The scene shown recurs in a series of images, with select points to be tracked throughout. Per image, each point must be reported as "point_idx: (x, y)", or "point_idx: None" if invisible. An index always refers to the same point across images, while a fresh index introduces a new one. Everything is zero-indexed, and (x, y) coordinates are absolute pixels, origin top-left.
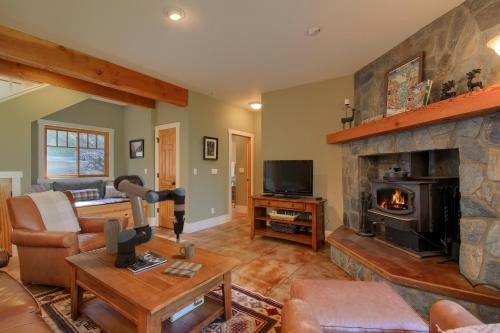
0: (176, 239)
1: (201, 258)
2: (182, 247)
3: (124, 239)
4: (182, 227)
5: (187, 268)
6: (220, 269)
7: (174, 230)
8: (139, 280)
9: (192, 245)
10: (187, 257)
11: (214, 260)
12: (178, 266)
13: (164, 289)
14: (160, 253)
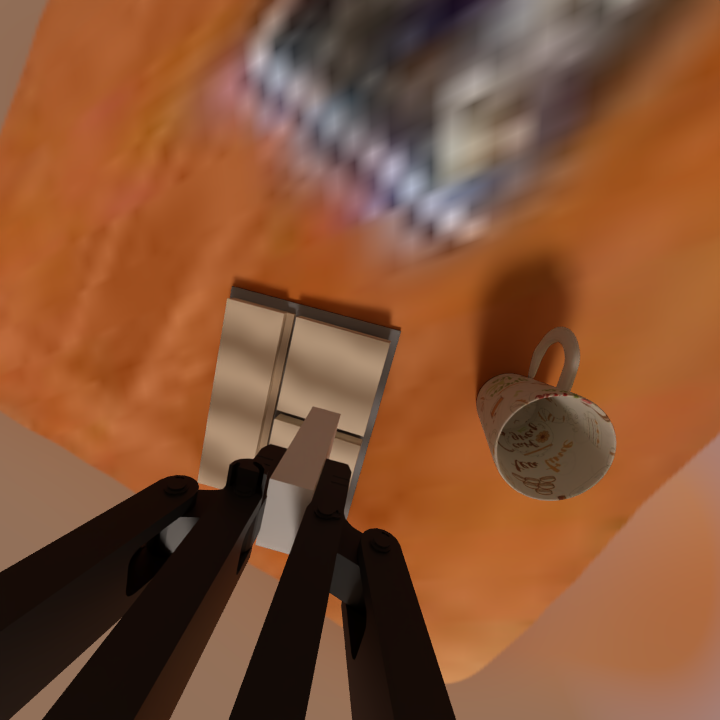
0: (299, 431)
1: (497, 487)
2: (566, 365)
3: None
4: (353, 706)
5: (282, 446)
6: (331, 606)
7: (66, 547)
8: (137, 170)
9: (590, 462)
10: (479, 402)
11: (459, 569)
12: (305, 381)
13: (77, 367)
14: (638, 109)
